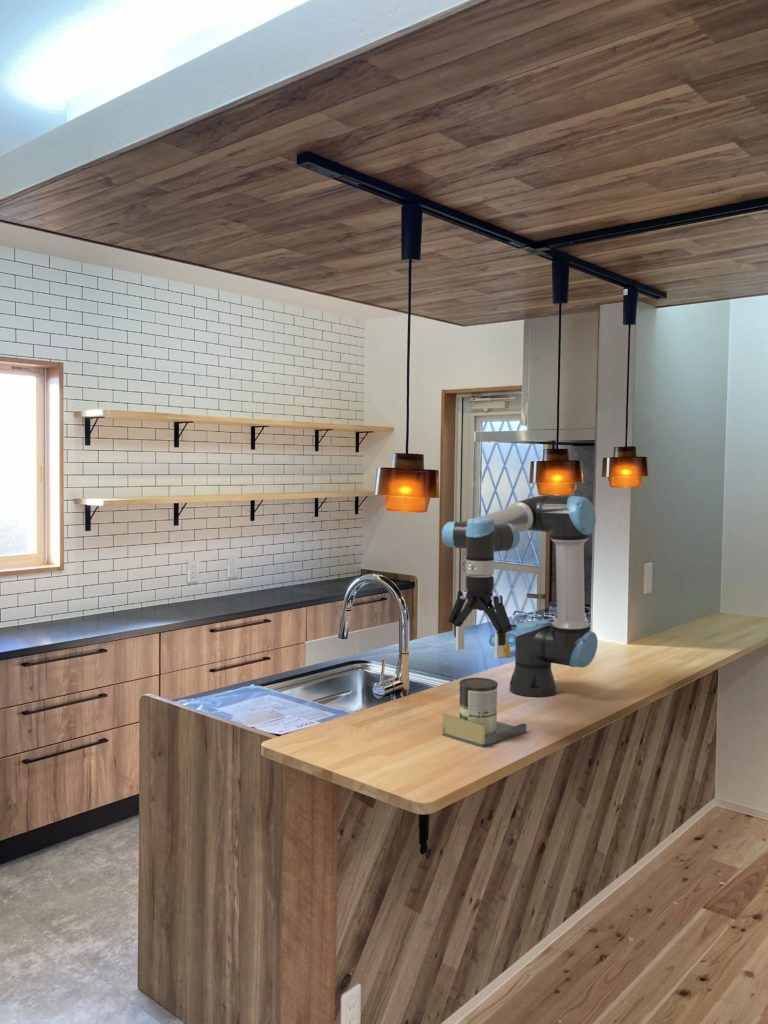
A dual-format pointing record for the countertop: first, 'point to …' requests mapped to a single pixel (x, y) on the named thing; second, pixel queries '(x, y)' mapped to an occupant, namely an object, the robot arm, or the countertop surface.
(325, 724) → the countertop surface
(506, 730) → the rail channel
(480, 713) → the coffee can
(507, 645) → the orange column with rings
